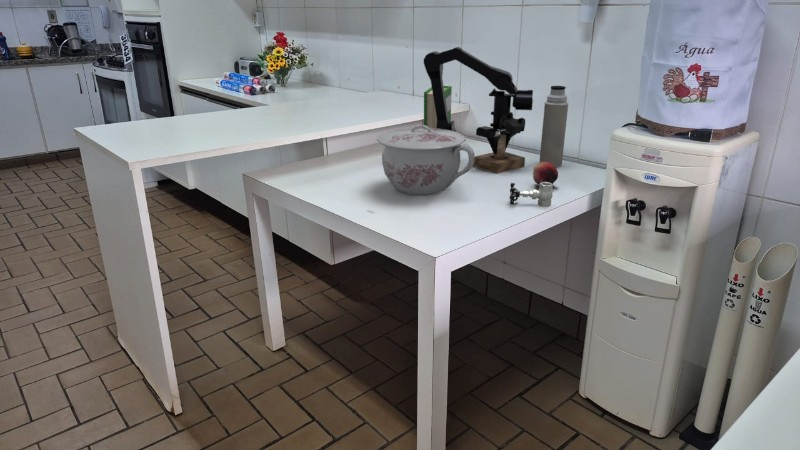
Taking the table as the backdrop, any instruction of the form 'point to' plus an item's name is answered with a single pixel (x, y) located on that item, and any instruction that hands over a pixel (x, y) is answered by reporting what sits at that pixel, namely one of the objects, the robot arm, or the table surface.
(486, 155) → the socket block
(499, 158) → the peg
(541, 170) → the fruit
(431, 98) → the hardback book
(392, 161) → the chamber pot
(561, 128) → the thermos bottle
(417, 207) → the table surface
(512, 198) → the valve
